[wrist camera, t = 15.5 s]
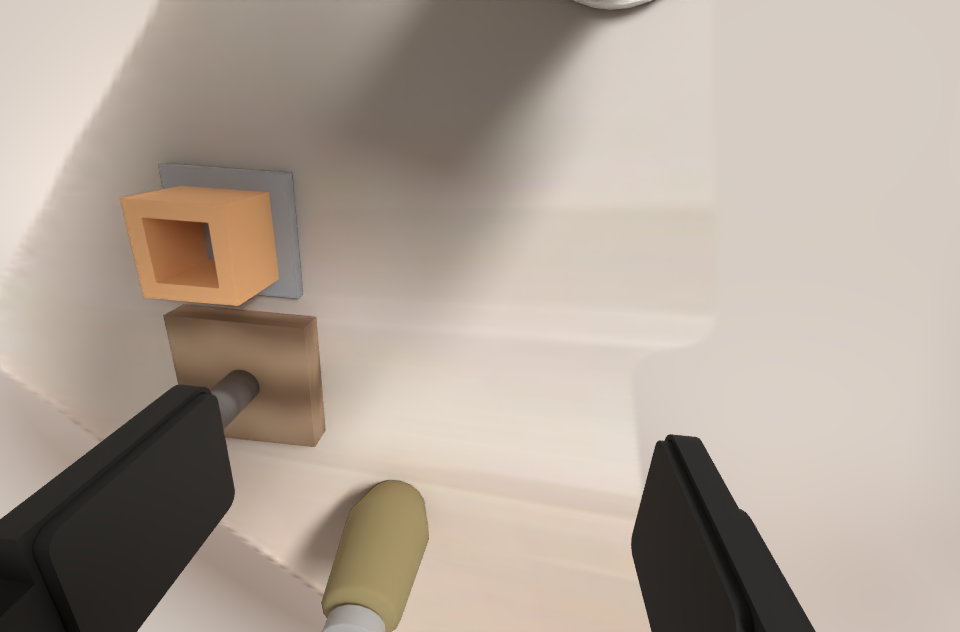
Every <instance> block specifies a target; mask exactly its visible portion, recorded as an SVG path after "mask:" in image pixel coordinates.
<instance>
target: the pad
mask: <svg viewBox="0 0 960 632" xmlns="http://www.w3.org/2000/svg"><path fill="white" fill-rule="evenodd" d="M158 166H159V171H160V176H161V181H162V186H163V189H167V188H172V187H177V186H191V187H205V188H218V189H232V190H246V191H259V192H269V195H270V204H271V213H272V221H273V230H274V239H275V247H276V256H277V264H278V273H279V280H277V281H276V282H274V283H273V284H271V285H270V286H268V287H267V288H265V289H264V290H262V291H261V292H259V293H258V294H256V295H265V296H276V297H287V298H299V297H300V296H302V295H303V289H302V278H301V267H300V255H299V244H298V233H297V222H296V211H295V200H294V189H293V178H292V173H288V172H275V171H262V170H249V169H236V168H223V167H210V166H197V165H184V164H171V163H165V164H158ZM202 224H203V229H204V235H205V241H206V246H207V252H208V258H209V260H214V254H213V248H212V242H211V236H210V230H209V224H208V223H206V222H202Z"/></svg>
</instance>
